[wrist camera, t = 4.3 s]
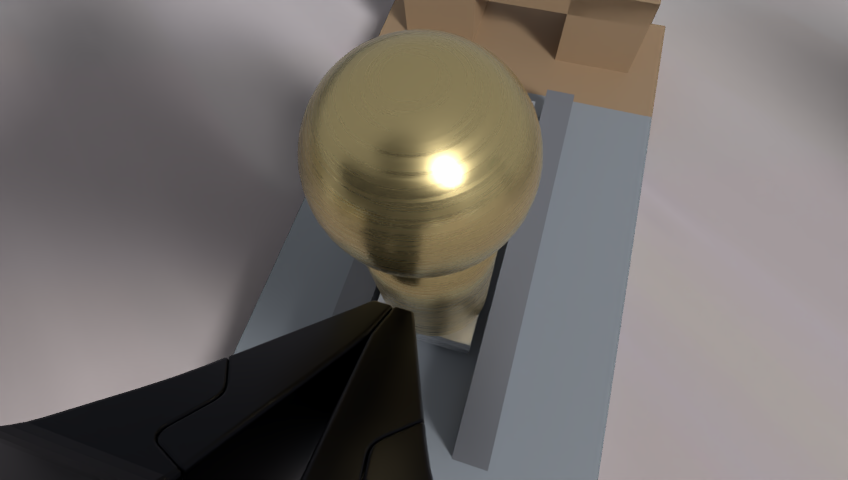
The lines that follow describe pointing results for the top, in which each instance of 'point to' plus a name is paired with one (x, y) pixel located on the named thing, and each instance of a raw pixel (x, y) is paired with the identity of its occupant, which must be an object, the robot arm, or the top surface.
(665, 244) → the top surface
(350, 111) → the brass ball knob
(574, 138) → the grey railed plate
